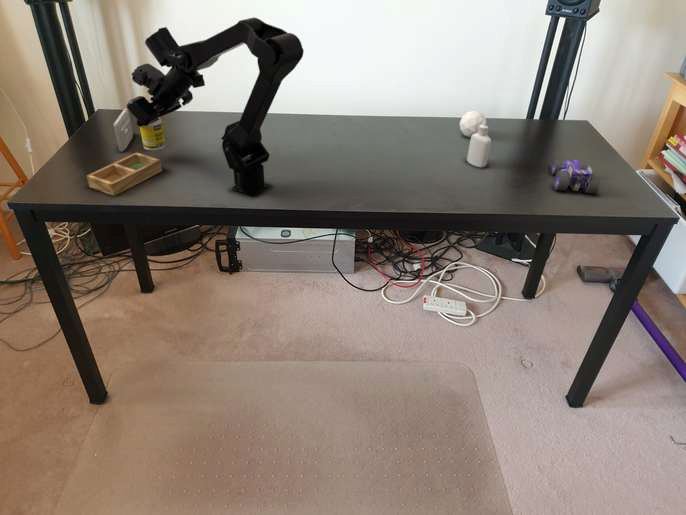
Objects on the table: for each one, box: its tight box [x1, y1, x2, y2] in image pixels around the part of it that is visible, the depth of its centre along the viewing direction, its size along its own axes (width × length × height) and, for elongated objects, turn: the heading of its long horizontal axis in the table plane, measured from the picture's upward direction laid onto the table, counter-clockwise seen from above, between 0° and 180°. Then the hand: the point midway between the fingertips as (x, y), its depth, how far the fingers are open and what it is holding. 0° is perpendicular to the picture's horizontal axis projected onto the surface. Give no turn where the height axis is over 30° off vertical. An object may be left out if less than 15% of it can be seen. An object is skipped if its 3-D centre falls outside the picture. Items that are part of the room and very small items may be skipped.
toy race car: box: [550, 159, 601, 195], centre depth 135 cm, size 10×15×6 cm, turn 172°
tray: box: [86, 152, 163, 197], centre depth 127 cm, size 8×15×3 cm, turn 152°
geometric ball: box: [459, 110, 488, 139], centre depth 157 cm, size 8×8×8 cm
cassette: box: [113, 108, 134, 153], centre depth 143 cm, size 12×2×8 cm, turn 5°
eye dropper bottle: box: [466, 120, 492, 168], centre depth 140 cm, size 4×6×12 cm
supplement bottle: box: [139, 117, 166, 151], centre depth 133 cm, size 5×5×10 cm
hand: (145, 121), depth 132 cm, fingers closed on supplement bottle, 5 cm apart
